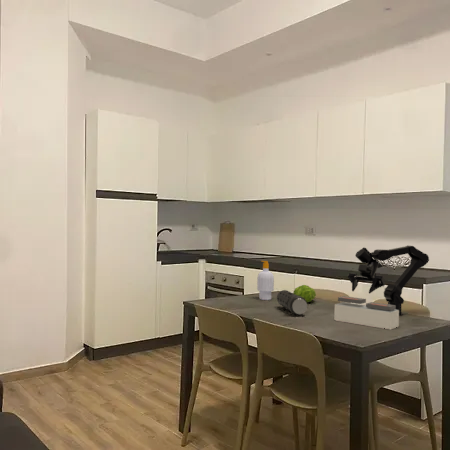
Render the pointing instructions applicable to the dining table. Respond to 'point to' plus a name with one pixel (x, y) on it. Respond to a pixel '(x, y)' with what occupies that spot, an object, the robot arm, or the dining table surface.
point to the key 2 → (380, 306)
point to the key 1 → (351, 300)
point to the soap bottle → (265, 282)
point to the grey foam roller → (292, 302)
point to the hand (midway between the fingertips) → (360, 291)
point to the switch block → (366, 315)
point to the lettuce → (305, 292)
